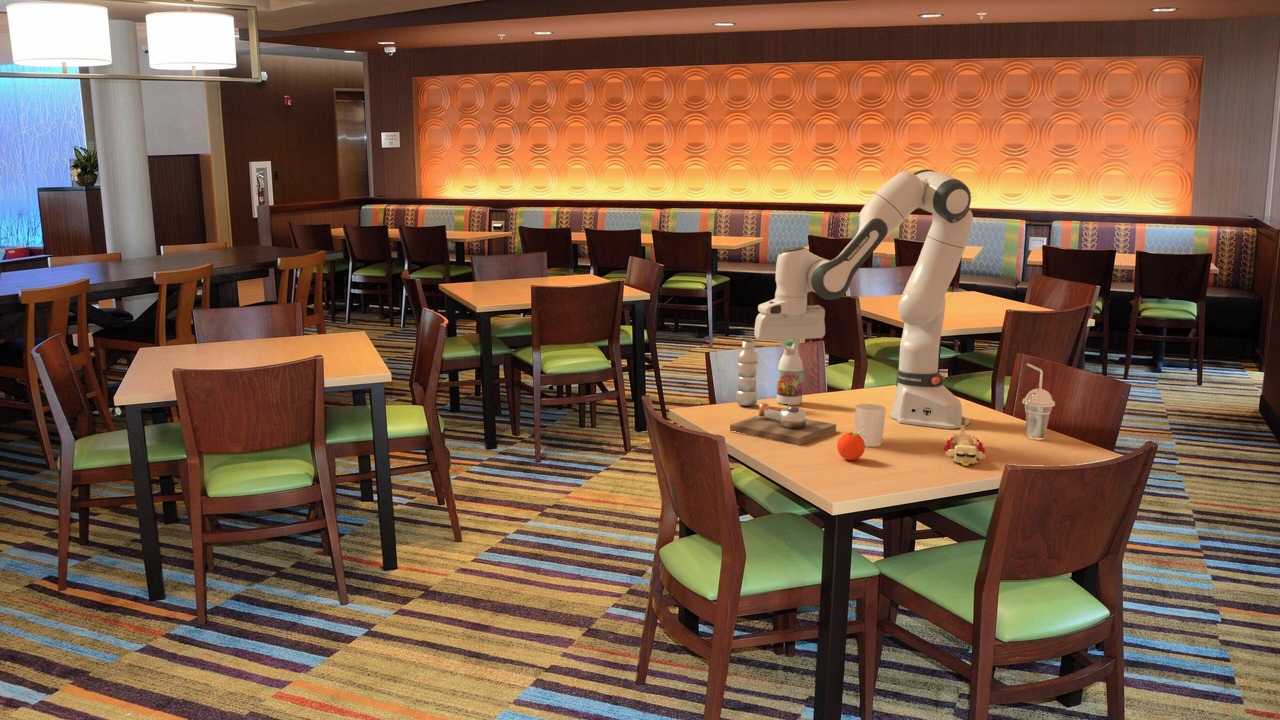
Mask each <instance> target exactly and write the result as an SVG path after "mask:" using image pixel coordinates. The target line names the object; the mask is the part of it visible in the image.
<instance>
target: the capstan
mask: <svg viewBox="0 0 1280 720" xmlns="http://www.w3.org/2000/svg"><path fill="white" fill-rule="evenodd" d="M758 415H759V416H765V417H769V418H773V419H777V420H780V425H781V426H782V427H786V428H803V427H805V426H806V419H807V410H805V409H802V408H800V407H799V406H797V405H789V406H788V407H786V408H782V409H780V411H779V410H775V409H770V408H769V404H768V403H766V402H765V403H764V402H763V403H762V402H761V403H758Z"/></svg>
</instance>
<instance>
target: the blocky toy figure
mask: <svg viewBox="0 0 1280 720" xmlns="http://www.w3.org/2000/svg"><path fill="white" fill-rule="evenodd" d="M965 417H966V416H964V417H962V419H961V428H960V432H959V433H958V434H957V433H952V437H950V439H947V440H946V444H945V446H943V451H944V452H945V456H947V457H950V458H951V457H953V458H951V461H952V462H955V463H960V464H961V465H962V466H965V467H967V466H968V467H969V466H970V464H972V465H975V463H976V464H979V460H983V459H986V456H985V455H986V454H985V453H986V449H985V447H983V445H984V444H983V443H982V441H980V439H978V438H977V437H975V436H972V434H967V433H966V432H965V429H966V426H965ZM974 440H976V441H975V442H976V443H978V444H977V447H976V445H972V444H974ZM952 444H954V449H953V448H952V446H953V445H952ZM951 448H952V449H951ZM977 459H979V460H977Z"/></svg>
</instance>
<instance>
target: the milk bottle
mask: <svg viewBox="0 0 1280 720" xmlns="http://www.w3.org/2000/svg"><path fill="white" fill-rule="evenodd" d="M793 343H794V342H792V339H789V340H788V343H786V346H787V348H791V347H792V345H793ZM799 347H800V344H799V345H798V347H797V348H796V354H795V355H786V356H785V355H784V353H783V354H782V356H781V357H780V359H779V362H778V367H777V387H776V402H777V404H779V403H781V404H780V405H783V404H788V405H787V406H796V405H795V404H799V405H801V404H802V402H803V385H804V367H803V366H804V365H803V361H802V358H801V355H800V352H799ZM800 403H801V404H800Z"/></svg>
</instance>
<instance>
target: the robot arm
mask: <svg viewBox="0 0 1280 720" xmlns="http://www.w3.org/2000/svg"><path fill="white" fill-rule="evenodd" d="M971 202H972V195H971V191H970V188H969V186H967V185H966V183H964V182H963V181H961V180H960V179H957V178H954V177H953V176H951V175H950V174H949V175H948V174H947V173H942V172H938V171H935V170H932V169H920V170H917V171H915V172H913V173H912V172H909V171H901V172H899V173H896V174H895V175H894V176H893V177H891V178H890V179H889V180H888V181H886V182H885V183H884V184H883V185H882V186H880V187H879V188H878V189H877V190H876V192H875V193H874V194H873V195H872V196H871V197H870V198H869V199H868V200H867V202H866V203H865V204H864V206H863V207H862V209H861V210H860V212H859V215H858V220H859V224H858V225H859V227H858V231H857V232H856V235H855V236H854V237H853V238H852V239H851V240H850V242H849V243H848V244H847V245H846V246H845V247H844V248H843V250H842V251H841V252H840V253H839V255H837V256H836V257H834V258H833V259H831V260H829V259H826V258H824V257H820V256H818V255H816V254H814V253H813V252H811V251H809V250H808V249H806V248H805V247H802V246H794V247H788V248H786V249H782V250H781V251H780V252H779V253H778V255H777V259H776V264H775V265H776V266H775V279H774V280H775V283H776V289H775V293H774V298H773V299H770V300H768V301H766V302H763V303H759V304H758V306H757V310H758V312H759V313H758V314H757V315H756V318H755V322H754V334H753V335H754V337H755V339H756V340H758V341H761V342H762V341H763V342H765V341H779V343H780V346H781V347H782V349H783V353H784V355H785V356H786V355H795V354H796V348H797V347H798V345H799V346H800V342H801V340H808V339H809V340H810V339H823V338H824V336H825V335H826V325H825V324H826V323H825V315H826V313H825V312H826V311H825V310H826V309H825V308H824V307H823V306H821V305H820V304H816V305H815V304H814V305H812V304H811V305H809V304H808V294H809V293H811V292H813V293H815V294H816V295H817V296H818V297H820V298H821V299H824V300H827V301H834V300H838V299H840V298H841V297H843V296H844V295H845V294H846V293H847V292H848V290H849V289H850V285H851V283H852V280H853V278H854V276H855V274H856V272H857V271H858V270H859V269H860V268H861V267H862V265H863V264H864V263H865V262H866V261H867V259H868V258H869V257H870V256H871V255H872V254H873V252H874V251H876V249H877V248H878V247H879V246H880V244H881V243H883V241H885V240H886V239H887V238H888V237H889V236H890V235H891V234H892V233H893V232H894V231H895V230H897V229H898V228H899V227H900V226H901V225H902V224H903V222H904V221H905V220H906V219H908V217H910V215H911V213H913V212H914V211H915V210H917V209H919V208H920V209H921V210H923V211H925V212H928V213H931V214H932V223H931V225H930V228H929V230H928V232H927V235H926V236H925V237H926V238H925V240H924V243H923V246H922V248H921V250H920V254H919V256H918V260H917V261H916V264H915V265H914V268H913V270H912V271H911V274H910V276H909V279H908V280H907V282H906V284H905V287H904V289H903V292H902V294H901V297H900V299H899V301H898V306H897V311H898V315H899V317H900V319H901V320H902V321H903V322H904V324H903V330H902V334H901V339H900V344H899V359H898V369H897V370H896V377H895V381H896V382H895V383H896V384H895V385H896V391H895V398H894V401H893V406H892V409H891V413H890V418H892V419H894V420H896V421H897V422H898V423H900V424H906V425H916V426H922V427H924V426H925V427H930V428H938V429H947V430H948V429H949V430H952V429H954V430H955V429H961V419H962V417H965V427H966V426H968V425H970V423H971V419H970V418H969V417H968V416H963V408H962V407H963V405H962V403H961V400H960V399H959V398H957V397H956V395H954V394H953V393H952V392H951V391H950V390H949V389H948V388H947V387H945V385H944V380H945V379H946V374H943V375H942V374H941V373H940V371H939V359H940V358H939V355H940V344H941V337H942V331H943V325H944V318H945V308H946V296H945V295H946V294H947V291H948V289H949V288H950V285H951V283H952V281H953V279H954V277H955V275H956V274H957V273H956V272H957V270H958V268H959V264H960V262H961V260H962V257H963V255H964V254H963V253H964V252H965V249H966V245H967V244H968V241H969V236H970V233H971V229H972V225H973V212H972V211H971V209H970V208H971V207H970V206H971ZM789 339H792V342H794V343H793V345H792V347H791V348H787V346H786V343H788V340H789ZM798 348H799V347H798Z"/></svg>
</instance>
